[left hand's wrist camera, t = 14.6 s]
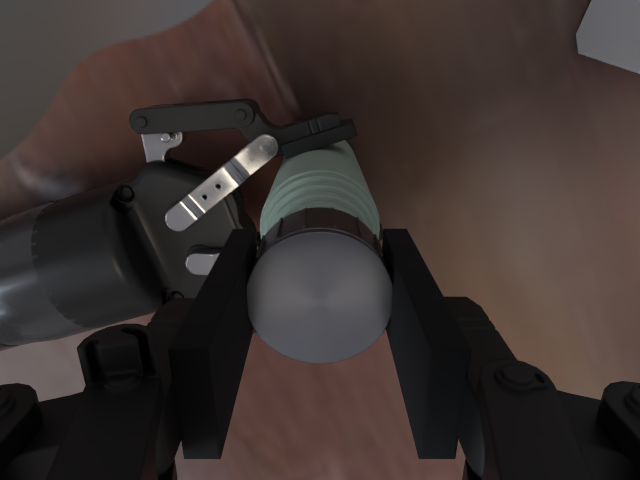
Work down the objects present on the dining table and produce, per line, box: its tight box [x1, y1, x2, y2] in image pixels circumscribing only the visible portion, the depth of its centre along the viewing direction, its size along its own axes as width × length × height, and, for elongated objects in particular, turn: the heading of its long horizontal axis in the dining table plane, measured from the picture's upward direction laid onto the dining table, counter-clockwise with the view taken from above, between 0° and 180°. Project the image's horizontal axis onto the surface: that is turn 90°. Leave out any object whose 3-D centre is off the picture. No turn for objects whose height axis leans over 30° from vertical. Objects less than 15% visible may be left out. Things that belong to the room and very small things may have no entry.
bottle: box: [260, 140, 380, 240], centre depth 21 cm, size 5×5×18 cm
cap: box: [246, 207, 393, 363], centre depth 13 cm, size 4×4×2 cm
